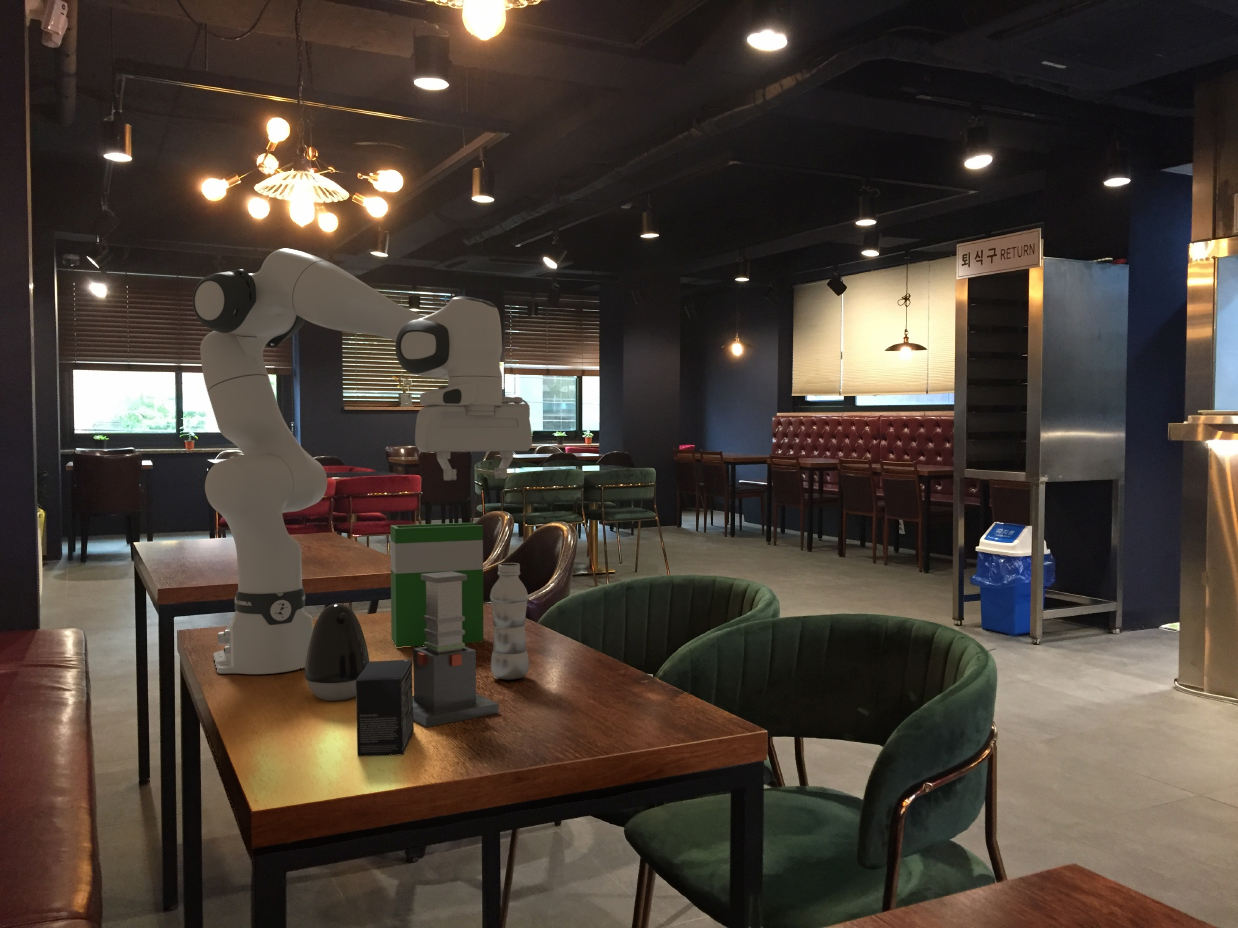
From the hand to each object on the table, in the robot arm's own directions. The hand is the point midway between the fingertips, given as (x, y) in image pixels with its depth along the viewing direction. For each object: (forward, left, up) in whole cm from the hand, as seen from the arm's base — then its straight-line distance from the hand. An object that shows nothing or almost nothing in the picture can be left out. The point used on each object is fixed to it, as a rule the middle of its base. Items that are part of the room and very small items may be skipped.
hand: (475, 479), depth 159 cm
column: (+8, -10, -29) cm, 31 cm away
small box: (+17, -23, -35) cm, 46 cm away
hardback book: (-39, +12, -35) cm, 54 cm away
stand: (+8, -10, -35) cm, 37 cm away
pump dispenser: (-10, -20, -35) cm, 42 cm away
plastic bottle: (-3, +8, -35) cm, 36 cm away
